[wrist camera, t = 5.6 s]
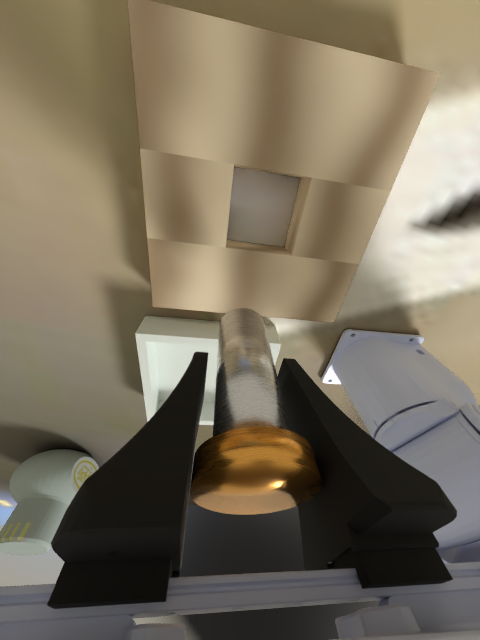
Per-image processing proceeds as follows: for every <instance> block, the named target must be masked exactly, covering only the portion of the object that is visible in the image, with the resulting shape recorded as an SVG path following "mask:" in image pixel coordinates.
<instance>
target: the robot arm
mask: <svg viewBox="0 0 480 640" xmlns="http://www.w3.org/2000/svg"><path fill="white" fill-rule="evenodd" d="M353 333H354V334H353ZM351 334H353V335H351ZM423 340H424V338H423V337H422V336H421V335H411V334H399V333H387V332H375V331H363V330H351V329H347V330H345V331H344V332H343V334H342V336H341V338H340V340H339V342H338V344H337V347H336V349H335V351H334V353H333V355H332V357H331V359H330V362H329V364H328V366H327V368H326V370H325V372H324V374H323V376H322V379H321V380H322V382H323V383H330V384H342V386H343V388H344V390H345V391H346V393H347V395H348V397H349V398H350V400H351V402H352V404H353V405H354V407H355V409H356V411H357V412H358V414H359V416H360V418H361V419H362V421H363V423H364V425H365V426H366V428H367V430H368V431H369V433H370V435H371V436H370V435H368V434H367V433H366V432H365V431H363V430H362V429H361V428H360V427H359V426H357V425H356V424H355V423H354V422H353V421H352V420H351V419H350V418H348V417H347V416H346V415H345V414H344V413H343V412H342V411H341V410H340V409H339V408H338V407H337V406H336V405H335V404H334V403H333V402H332V401H331V400H330V399H329V398H328V397H327V396H326V395H325V394H324V393H323V392H322V391H321V389H320V388H319V387H318V386H317V385H316V384H315V383H314V382H313V380H312V379H311V378H310V377H309V376H308V374H307V373H306V372H305V371H304V370H303V369H302V367H301V366H300V365H299V364H298V363H297V361H296V360H295V359H286V358H284V359H283V362H282V365H281V368H280V371H279V374H278V377H277V378H278V382H279V387H280V391H281V395H282V399H283V404H284V408H285V412H286V416H287V421H288V425H289V429H290V431H292V432H295V433H297V434H299V435H301V436H303V437H304V438H305V439H306V440H307V441H308V442H309V443H310V445H311V447H312V451H313V454H314V457H315V461H316V464H317V467H318V471H319V474H320V477H321V481H322V487H321V489H320V491H319V492H318V494H317V495H315V496H314V497H313V498H312V499H310V500H308V501H307V502H305V503H302V504H300V505H298V510H299V518H300V527H301V536H302V546H303V557H304V567H305V571H293V572H274V573H256V574H255V573H254V574H235V575H217V576H197V577H179V575H180V568H181V566H182V557H183V547H184V538H185V529H186V519H187V511H188V502H189V492H190V483H191V474H192V465H193V456H194V448H195V442H196V437H197V432H198V426H199V421H200V416H201V411H202V406H203V401H204V392H205V382H206V372H207V362H208V352H195V353H194V355H193V358H192V360H191V362H190V364H189V366H188V368H187V370H186V371H185V373H184V375H183V376H182V378H181V380H180V381H179V383H178V384H177V386H176V387H175V389H174V390H173V391H172V393H171V394H170V396H169V397H168V398H167V400H166V401H165V402H164V403H163V405H162V406H161V407H160V408H159V410H158V411H157V412H156V413H155V414H154V415H153V417H152V418H151V419H150V420H149V421H148V422H147V423H146V424H145V425H144V427H143V428H142V429H141V430H140V431H139V432H138V433H137V434H136V435H135V436H134V437H133V438H132V439H131V440H130V441H129V442H128V443H127V444H125V445H124V446H123V447H122V448H121V449H120V450H119V451H118V452H117V453H116V454H115V455H114V456H113V457H112V458H110V459H109V460H108V461H107V462H106V463H105V464H103V465H102V466H101V467H100V468H99V469H98V470H97V471H95V472H94V473H93V474H92V475H91V476H90V477H88V478H87V479H86V480H85V481H84V483H83V484H82V486H81V487H80V489H79V490H78V492H77V493H76V495H75V496H74V498H73V500H72V501H71V503H70V505H69V506H68V508H67V510H66V512H65V514H64V516H63V518H62V520H61V522H60V524H59V527H58V529H57V531H56V533H55V535H54V537H53V539H52V542H51V545H52V548H53V550H54V551H55V553H57V554H58V556H59V557H61V558H62V560H63V561H64V562H65V563H64V565H63V568H62V570H61V572H60V575H59V577H58V580H57V582H56V584H43V585H24V586H5V587H0V640H186V634H185V629H186V628H185V626H184V624H139V625H136V623H135V621H134V620H133V619H132V618H145V617H159V616H172V615H186V614H199V613H213V612H225V611H226V612H227V611H239V610H254V609H267V608H281V607H293V606H308V605H320V604H321V605H322V604H335V603H349V602H363V601H376V600H380V602H379V606H378V607H371V608H365V609H360V610H358V611H357V612H355V613H352V614H350V615H347V616H343V617H339V618H336V622H335V623H336V627H337V630H338V635H339V639H334V640H480V405H477V402H476V399H475V397H474V395H473V393H472V391H471V390H470V388H469V387H468V386H467V385H466V384H465V383H464V382H463V381H462V380H461V379H460V378H459V377H458V376H456V375H455V374H454V373H453V372H452V371H450V370H449V369H448V368H447V367H446V366H444V365H443V364H442V363H441V362H440V361H439V360H437V359H436V358H435V357H434V356H433V355H431V354H430V353H429V352H428V351H427V350H425V349H424V348H423V347H422V346H421V343H422V342H423Z"/></svg>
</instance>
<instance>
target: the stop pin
mask: <svg viewBox="0 0 480 640" xmlns="http://www.w3.org/2000/svg"><path fill="white" fill-rule="evenodd" d="M321 487H322V481H321V477H320V474H319V471H318V467H317V464H316V461H315V457H314V454H313V451H312V447H311V445H310V443H309V442H308V441H307V440H306V439H305V438H304V437H303V436H301V435H299V434H297V433H295V432H292V431H290V429H289V425H288V421H287V416H286V412H285V408H284V404H283V399H282V395H281V391H280V387H279V382H278V378H277V374H276V370H275V365H274V361H273V357H272V353H271V348H270V344H269V340H268V336H267V331H266V327H265V323H264V320H263V318H262V316H261V315H260V314H259V313H257V312H256V311H254V310H252V309H248V308H238V309H234V310H231V311H229V312H228V313H226V314H225V315H224V316H223V318H222V319H221V321H220V324H219V339H218V356H217V373H216V390H215V408H214V425H213V437H212V438H210V439H208V440H207V441H205V442H204V443H203V444H202V445H201V446H200V447H199V448H198V449H197V451H196V453H195V456H194V463H193V472H192V480H191V489H190V496H191V498H192V500H193V501H194V502H195V503H197V504H198V505H200V506H202V507H204V508H206V509H209V510H212V511H216V512H221V513H227V514H244V515H246V514H263V513H270V512H276V511H281V510H285V509H289V508H292V507H295V506H298V505H300V504H302V503H305V502H307V501H308V500H310V499H312V498H313V497H314V496H315V495H317V494H318V492H319V491H320V489H321Z"/></svg>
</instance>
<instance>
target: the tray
mask: <svg viewBox="0 0 480 640" xmlns="http://www.w3.org/2000/svg"><path fill="white" fill-rule="evenodd" d="M219 324H220V321H208V320H196V319H184V318H172V317H160V316H147V315H146V316H145V317H144V319H143V321H142V323H141V324H140V326H139V328H138V329H137V331H136V333H135V335H136V343H137V350H138V357H139V364H140V371H141V378H142V385H143V392H144V400H145V407H146V414H147V421H149V420H150V419H151V418H152V417H153V415H154V414H155V413H156V412H157V411H158V410H159V408H160V407H161V406H162V405H163V403H164V402H165V401H166V400H167V398H168V397H169V396H170V394H171V393H172V391H173V390H174V389H175V387H176V386H177V384H178V383H179V381H180V380H181V378H182V376H183V375H184V373H185V371H186V370H187V368H188V366H189V364H190V362H191V360H192V358H193V355H194V353H195V352H208V362H207V372H206V382H205V392H204V401H203V406H202V411H201V416H200V421H199V425H214V408H215V390H216V373H217V356H218V339H219ZM265 327H266V331H267V336H268V340H269V344H270V348H271V353H272V357H273V361H274V365H275V364H276V360H277V357H278V353H279V350H280V347H281V342H280V339H279V336H278V333H277V330H276V327H275V326H269V325H265Z"/></svg>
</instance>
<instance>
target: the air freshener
mask: <svg viewBox="0 0 480 640" xmlns="http://www.w3.org/2000/svg"><path fill="white" fill-rule="evenodd" d="M98 469H99V467H98V465H97V463H96V462H95V461H94V460H93V459H92V458H91V456H90V455H88V454H86V453H83V452H79V451H76V450H70V449H56V450H49V451H45V452H42V453H39V454H36V455H34V456H32V457H30V458H29V459H27V460H25V461H24V462H23V463H22V464H21V465H20V466H19V467H18V468H17V469H16V470H15V471H14V473H13V475H12V477H11V480H10V492H11V495H12V497H13V498H14V500H15V501H16V502H17V503H18V504H17V506H16V508H15V509H14V511H13V512H12V514H11V516H10V517H9V519H8V520H7V522H6V524H5V525H4V527H3V528H2V530H1V531H0V552H2V553H6V554H12V555H38V554H42V553H45V552H46V551H47V550H49V549H50V548H51V546H52V545H51V542H52V539H53V537H54V535H55V533H56V531H57V529H58V527H59V524H60V522H61V520H62V518H63V516H64V514H65V512H66V510H67V508H68V506H69V505H70V503H71V501H72V500H73V498H74V496H75V495H76V493H77V492H78V490H79V489H80V487H81V486H82V484H83V483H84V481H85V480H86V479H87V478H88V477H90V476H91V475H92V474H93V473H94V472H95V471H97V470H98Z"/></svg>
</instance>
